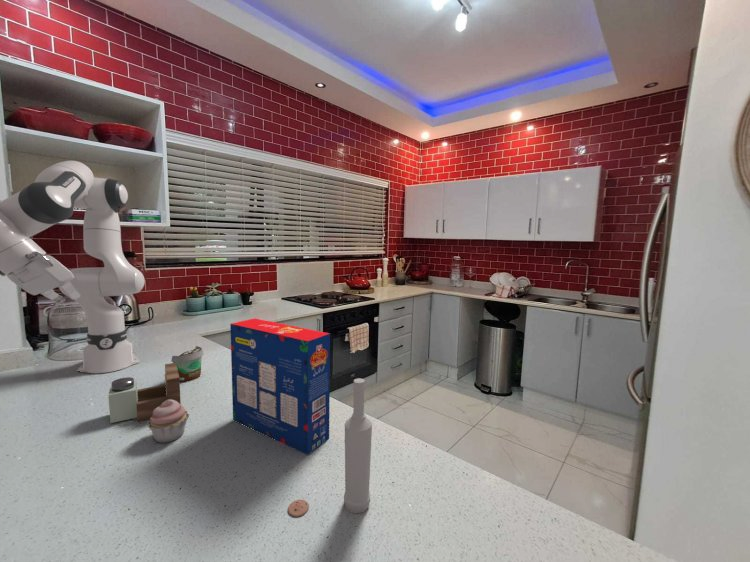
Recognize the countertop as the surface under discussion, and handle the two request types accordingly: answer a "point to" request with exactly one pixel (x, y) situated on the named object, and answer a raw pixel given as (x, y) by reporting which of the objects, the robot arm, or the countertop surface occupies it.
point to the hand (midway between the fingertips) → (69, 300)
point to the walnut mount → (158, 393)
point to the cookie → (298, 508)
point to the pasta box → (281, 382)
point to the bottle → (357, 454)
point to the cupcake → (168, 421)
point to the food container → (189, 364)
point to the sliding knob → (123, 399)
